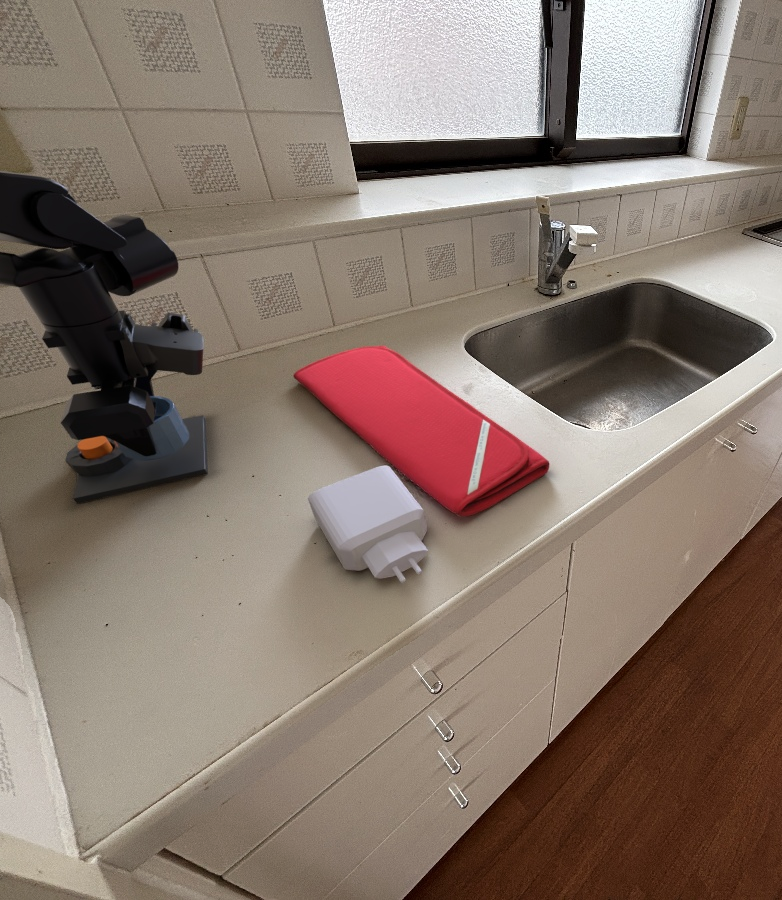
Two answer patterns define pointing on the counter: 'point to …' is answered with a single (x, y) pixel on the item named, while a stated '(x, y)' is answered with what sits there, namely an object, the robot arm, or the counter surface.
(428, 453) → the dish drying mat
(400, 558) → the charger
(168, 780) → the counter surface
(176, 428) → the bowl
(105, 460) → the scale
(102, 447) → the tare button
